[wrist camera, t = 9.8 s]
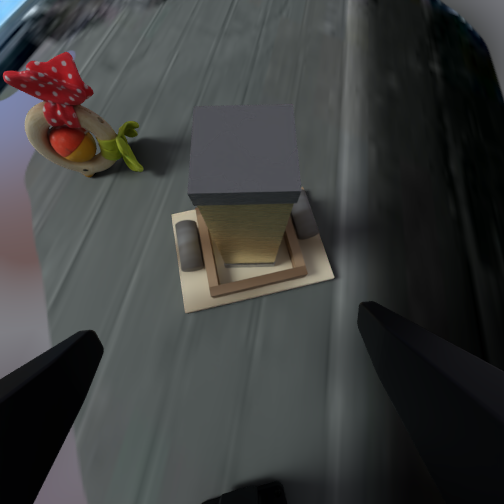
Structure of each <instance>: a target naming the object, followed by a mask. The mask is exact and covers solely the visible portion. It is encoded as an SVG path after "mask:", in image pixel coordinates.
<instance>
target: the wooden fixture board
mask: <svg viewBox="0 0 504 504" xmlns="http://www.w3.org/2000/svg"><path fill="white" fill-rule="evenodd" d="M172 221H173V229H174V236H175V243H176V250H177V257H178V264H179V271H180V279H181V286H182V293H183V300H184V307H185V313H192V312H196V311H200V310H205V309H209V308H213V307H217V306H221V305H226V304H230V303H234V302H238V301H243V300H247V299H251V298H255V297H260V296H264V295H268V294H272V293H277V292H281V291H285V290H289V289H293V288H298V287H302V286H306V285H310V284H315V283H319V282H323V281H327V280H332V279H333V278H334V275H333V272H332V269H331V267H330V264H329V261H328V258H327V255H326V252H325V249H324V246H323V243H322V240H321V237H320V235H319V230H318V227H317V224H316V221H315V218H314V215H313V212H312V209H311V206H310V203H309V201H308V198H307V195H306V192H305V190H304V188H303V187H301V194H300V197H299V199H298V202H297V203H294V205H293V208H292V211H291V214H290V217H289V220H288V223H287V226H286V229H285V231H284V234H283V237H282V240H281V243H280V246H279V249H278V252H277V255H276V258H275V266H274V267H240V268H225V266H224V260H223V258H222V256H221V254H220V252H219V250H218V248H217V246H216V244H215V242H214V240H213V238H212V236H211V233H210V231H209V229H208V227H207V225H206V223H205V221H204V219H203V217H202V215H201V213H200V211H199V209H198V207H197V208H195V210H191V211H186V212H181V213H176V214H172Z"/></svg>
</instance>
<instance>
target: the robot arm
mask: <svg viewBox="0 0 504 504" xmlns="http://www.w3.org/2000/svg"><path fill="white" fill-rule="evenodd" d="M357 324H358V328H359V331H360V333H361V336H362V338H363V341H364V343H365V346H366V348H367V351H368V353H369V356H370V358H371V360H372V363H373V365H374V368H375V370H376V372H377V375H378V377H379V378H380V380H381V382H382V384H383V386H384V388H385V390H386V392H387V394H388V396H389V397H390V399H391V401H392V403H393V405H394V407H395V409H396V411H397V413H398V414H399V416H400V418H401V420H402V422H403V424H404V426H405V428H406V429H407V431H408V433H409V435H410V437H411V439H412V441H413V443H414V444H415V446H416V448H417V450H418V452H419V454H420V456H421V458H422V460H423V461H424V463H425V465H426V467H427V469H428V471H429V473H430V475H431V476H432V478H433V480H434V482H435V484H436V486H437V488H438V490H439V492H440V493H441V495H442V497H443V499H444V501H445V503H446V504H504V371H502V370H500V369H498V368H496V367H494V366H493V365H491V364H489V363H487V362H485V361H483V360H481V359H480V358H478V357H476V356H474V355H472V354H470V353H469V352H467V351H465V350H463V349H461V348H459V347H457V346H456V345H454V344H452V343H450V342H448V341H446V340H444V339H443V338H441V337H439V336H437V335H435V334H433V333H432V332H430V331H428V330H426V329H424V328H422V327H420V326H419V325H417V324H415V323H413V322H411V321H409V320H407V319H406V318H404V317H402V316H400V315H398V314H396V313H395V312H393V311H391V310H389V309H387V308H385V307H383V306H382V305H380V304H378V303H376V302H374V301H368V302H361V303H360V305H359V311H358V320H357ZM103 352H104V348H103V345H102V343H101V342H100V340H99V338H98V336H97V334H96V333H95V331H93V330H84V331H79V332H77V333H75V334H74V335H72V336H70V337H69V338H67V339H66V340H64V341H62V342H61V343H59V344H57V345H56V346H54V347H52V348H51V349H49V350H47V351H46V352H44V353H43V354H41V355H39V356H38V357H36V358H34V359H33V360H31V361H29V362H28V363H26V364H24V365H23V366H21V367H20V368H18V369H16V370H15V371H13V372H11V373H10V374H8V375H6V376H5V377H3V378H2V379H0V504H33V503H34V501H35V499H36V497H37V495H38V493H39V491H40V489H41V487H42V485H43V483H44V481H45V479H46V477H47V475H48V473H49V471H50V469H51V467H52V465H53V463H54V461H55V459H56V457H57V455H58V453H59V451H60V449H61V447H62V445H63V443H64V441H65V439H66V437H67V435H68V433H69V431H70V429H71V427H72V425H73V423H74V421H75V419H76V417H77V415H78V413H79V411H80V409H81V407H82V405H83V403H84V400H85V398H86V396H87V393H88V391H89V388H90V386H91V383H92V381H93V378H94V376H95V373H96V371H97V368H98V366H99V363H100V360H101V358H102V355H103ZM276 489H279V490H280V493H279V494H276V493H275V490H276ZM202 504H287V501H286V497H285V492H284V488H283V485H282V484H281V483H280V482H273V483H269V484H266V485H262V486H259V487H255V486H249V487H246V488H243V489H239V490H236V491H232V492H229V493H225V494H222V496H221V498H217V499H214V500H210V501H207V502H204V503H202Z"/></svg>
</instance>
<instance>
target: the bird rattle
mask: <svg viewBox="0 0 504 504" xmlns="http://www.w3.org/2000/svg"><path fill="white" fill-rule="evenodd" d="M3 78H4V81H5V82H6V83H8V84H9V85H11V86H13V87H15V88H17V89H19V90H21V91H23V92H25V93H28V94H30V95H32V96H34V97H36V98H38V99H41V100H44V101H43V102H41V103H39V104H37V105H35V106H34V107H32V108H31V109H30V111H29V112H28V113H27V116H26V119H25V131H26V134H27V137H28V139H29V141H30V143H31V144H32V145H33V147H34V148H35V149H36V150H37V151H38V152H39V153H40V154H41V155H43V156H44V157H45V158H47V159H48V160H50V161H52V162H54V163H55V164H57V165H60V166H62V167H64V168H67V169H70V170H74V171H77V172H80V173H82V174H83V175H85V176H87V177H91V176H93V175H94V174H95V173H96V172H100V171H104V170H106V169H108V168H109V167H111V166H112V165H113V164H114V163H115V162H116V161H117V160H118V159H120V158H121V157H123V159H124V161H125V163H126V165H127V166H128V167H129V168H130V169H131V170H133V171H136V172H137V171H139V172H142V171H143V167H142V166H141V165H140V164H139V163H138V161H137V160H136V158H135V156H134V154H133V152H132V150H131V148H130V146H129V145H128V144H127V139H126V137H125V136H124V135H126V136H128V137H135V136H137V135H138V134H137V132H136V131H135V130H134V129H135V128H138V127H139V124H138V123H137V122H134V121H128V122H126V123H124V124H123V126H121V127H120V128H119V132H118V135H117V134H116V133H115V132H114V130H113V129H112V127H111V126H110V125H109V124H108V123H107V122H106V121H105V120H104V119H103V118H101V117H100V116H99V115H97V114H96V113H94V112H93V111H91V110H89V109H87V108H85V107H83V106H81V105H80V104H81V103H83V102H84V101H85V99H88V98H89V97H90V96H92V95H93V90H92V89H91V87H89V86H88V85H86V84H85V83H84V82H83V81H82V79H81V78H80V75H79V73H78V70H77V68H76V65H75V62H74V60H73V58H72V56H71V55H70V54H69V53H68V52H64V53H62V54H60V55H58V56H56V57H54V58H53V59H51V60H49V61H48V62H37V61H31V62H29V63H28V64H27V65H26V71H22V72H16V71H6V72H4V74H3ZM50 126H53V127H52V128H50V129H49V127H50ZM84 128H85V129H87V130H85V129H84ZM89 131H90V132H91V133H93V134H94V135H95V136H96V139H97V141H98V142H99V147H100V150H101V152H100V153H99V154H97V155H95V153H96V149H97V148H96V143H95V140H94V138H93V136H92V135H91V134H90V133H89Z"/></svg>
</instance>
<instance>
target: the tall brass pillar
mask: <svg viewBox="0 0 504 504" xmlns="http://www.w3.org/2000/svg"><path fill="white" fill-rule="evenodd" d="M300 194H301V180H300V170H299V160H298V150H297V140H296V130H295V119H294V109H293V104H273V105H230V106H194V109H193V123H192V138H191V152H190V166H189V180H188V195H189V197H190V199H191V201H192V203H193V205H194V206H197V207H198V209H199V211H200V213H201V215H202V217H203V219H204V221H205V223H206V225H207V227H208V229H209V231H210V233H211V236H212V238H213V240H214V242H215V244H216V246H217V248H218V250H219V252H220V254H221V256H222V258H223V260H224V266H225V268H240V267H274V266H275V258H276V255H277V252H278V249H279V246H280V243H281V240H282V237H283V234H284V231H285V229H286V226H287V223H288V220H289V217H290V214H291V211H292V208H293V205H294V203H297V202H298V199H299V197H300Z"/></svg>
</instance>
